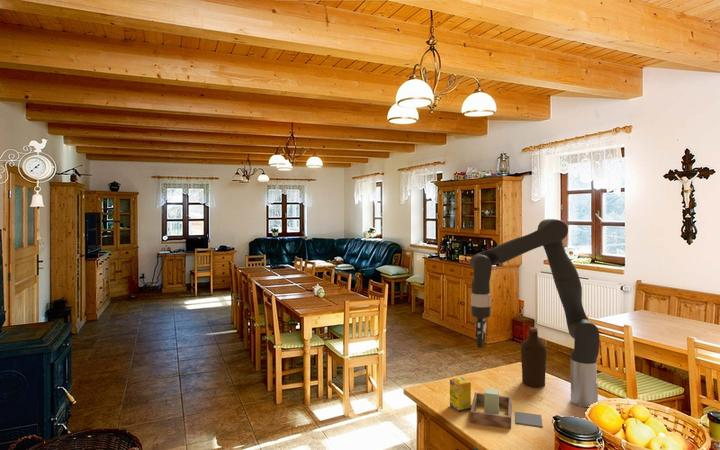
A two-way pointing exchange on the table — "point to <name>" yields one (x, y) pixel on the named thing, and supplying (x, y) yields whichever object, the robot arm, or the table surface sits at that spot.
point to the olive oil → (533, 360)
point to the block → (491, 401)
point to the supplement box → (460, 394)
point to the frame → (488, 417)
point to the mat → (528, 419)
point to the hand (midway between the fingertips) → (481, 344)
